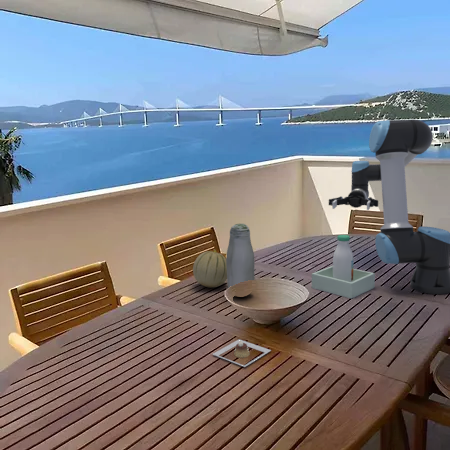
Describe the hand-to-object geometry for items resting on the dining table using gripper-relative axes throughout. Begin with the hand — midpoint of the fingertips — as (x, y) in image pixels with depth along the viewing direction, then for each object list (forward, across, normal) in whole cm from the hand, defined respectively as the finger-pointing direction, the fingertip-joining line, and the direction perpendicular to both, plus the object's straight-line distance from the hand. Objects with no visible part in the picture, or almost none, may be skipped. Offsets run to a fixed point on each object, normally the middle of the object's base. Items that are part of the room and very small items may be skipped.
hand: (350, 206), depth 192 cm
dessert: (+78, +19, -31) cm, 86 cm away
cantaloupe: (+27, +51, -30) cm, 65 cm away
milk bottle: (+14, 0, -29) cm, 33 cm away
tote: (+14, 0, -30) cm, 33 cm away
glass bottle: (+34, +35, -30) cm, 58 cm away
